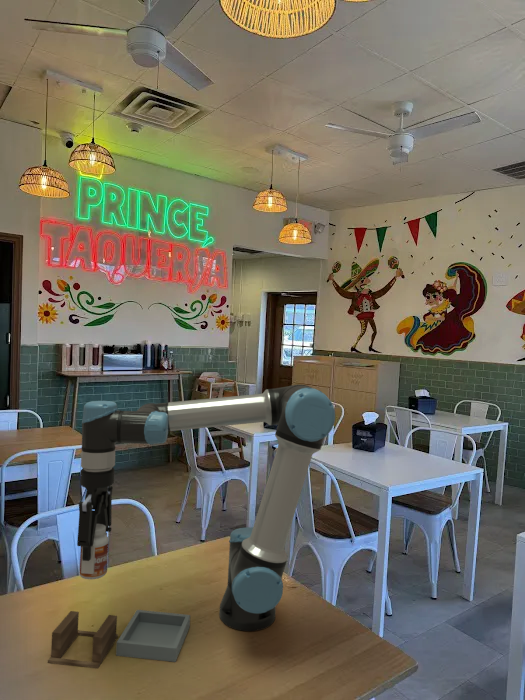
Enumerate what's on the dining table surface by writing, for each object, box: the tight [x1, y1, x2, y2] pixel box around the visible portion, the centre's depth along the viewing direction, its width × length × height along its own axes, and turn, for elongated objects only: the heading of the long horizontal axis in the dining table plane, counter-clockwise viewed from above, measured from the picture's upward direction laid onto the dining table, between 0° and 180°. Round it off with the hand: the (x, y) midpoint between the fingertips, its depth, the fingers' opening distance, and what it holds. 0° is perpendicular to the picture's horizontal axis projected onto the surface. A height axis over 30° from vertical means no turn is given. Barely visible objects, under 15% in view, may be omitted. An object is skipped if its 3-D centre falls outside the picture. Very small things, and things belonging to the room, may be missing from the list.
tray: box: [115, 609, 191, 663], centre depth 120 cm, size 14×14×3 cm
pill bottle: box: [79, 524, 109, 580], centre depth 115 cm, size 6×6×11 cm
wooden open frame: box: [47, 610, 119, 669], centre depth 115 cm, size 12×12×6 cm
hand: (94, 565), depth 115 cm, fingers closed on pill bottle, 6 cm apart
